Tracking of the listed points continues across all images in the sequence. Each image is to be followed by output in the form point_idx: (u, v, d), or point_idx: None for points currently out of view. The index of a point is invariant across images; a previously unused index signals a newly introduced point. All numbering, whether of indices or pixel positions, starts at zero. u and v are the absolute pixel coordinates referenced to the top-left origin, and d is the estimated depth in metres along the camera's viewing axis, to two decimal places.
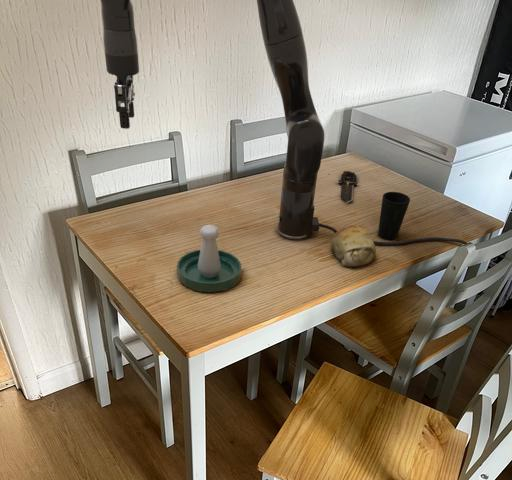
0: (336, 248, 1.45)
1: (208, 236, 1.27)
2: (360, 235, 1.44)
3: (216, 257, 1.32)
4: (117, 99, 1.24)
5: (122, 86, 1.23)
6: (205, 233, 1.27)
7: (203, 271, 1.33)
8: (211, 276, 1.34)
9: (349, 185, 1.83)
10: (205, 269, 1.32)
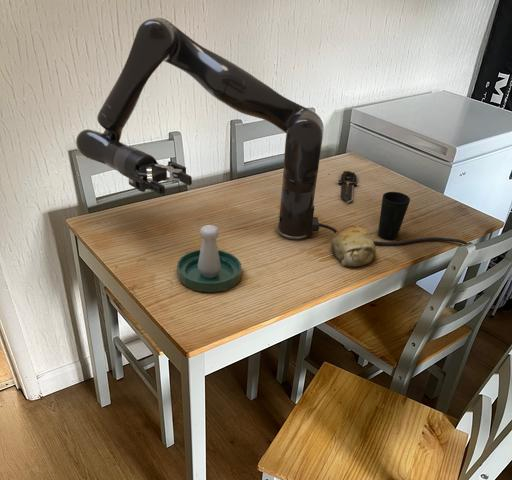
0: (336, 248, 1.45)
1: (208, 236, 1.27)
2: (360, 235, 1.44)
3: (216, 257, 1.32)
4: (135, 186, 1.29)
5: (128, 176, 1.30)
6: (205, 233, 1.27)
7: (203, 271, 1.33)
8: (211, 276, 1.34)
9: (349, 185, 1.83)
10: (205, 269, 1.32)
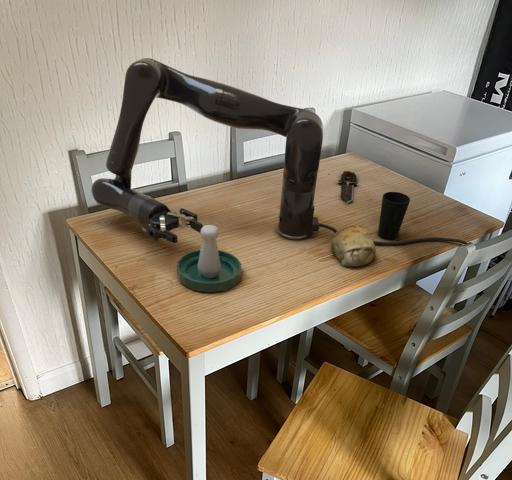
0: (336, 248, 1.45)
1: (208, 236, 1.27)
2: (360, 235, 1.44)
3: (216, 257, 1.32)
4: (148, 235, 1.34)
5: (142, 225, 1.35)
6: (205, 233, 1.27)
7: (203, 271, 1.33)
8: (211, 276, 1.34)
9: (349, 185, 1.83)
10: (205, 269, 1.32)
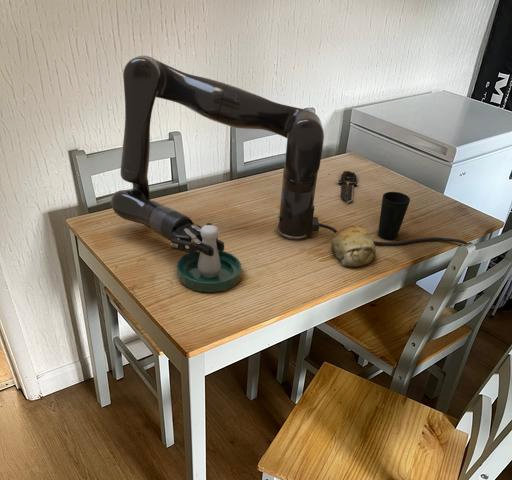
0: (336, 248, 1.45)
1: (208, 236, 1.27)
2: (360, 235, 1.44)
3: (216, 257, 1.32)
4: (181, 249, 1.30)
5: (171, 242, 1.30)
6: (205, 233, 1.27)
7: (203, 271, 1.33)
8: (211, 276, 1.34)
9: (349, 185, 1.83)
10: (205, 269, 1.32)
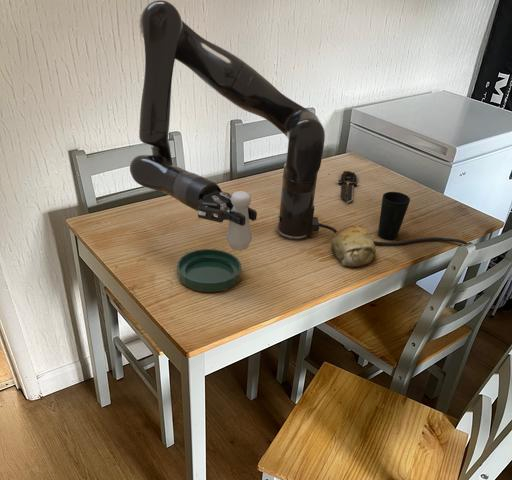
0: (336, 248, 1.45)
1: (240, 202, 1.14)
2: (360, 235, 1.44)
3: (247, 227, 1.19)
4: (209, 218, 1.18)
5: (198, 209, 1.17)
6: (237, 200, 1.14)
7: (233, 243, 1.20)
8: (241, 249, 1.22)
9: (349, 185, 1.83)
10: (235, 240, 1.20)
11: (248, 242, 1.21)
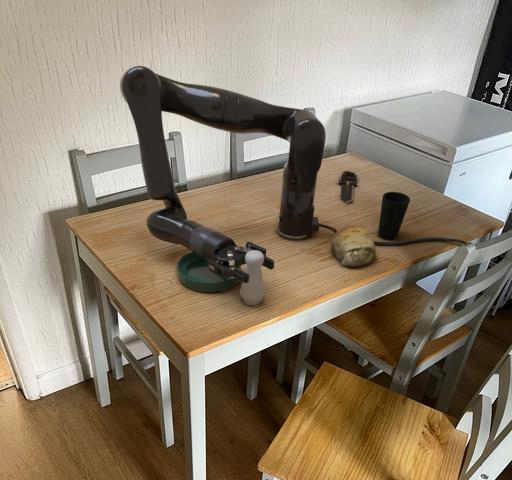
0: (336, 248, 1.45)
1: (254, 262, 1.20)
2: (360, 235, 1.44)
3: (260, 284, 1.24)
4: (216, 273, 1.23)
5: None
6: (251, 260, 1.20)
7: (246, 298, 1.26)
8: (254, 303, 1.27)
9: (349, 185, 1.83)
10: (248, 296, 1.25)
11: (261, 297, 1.26)
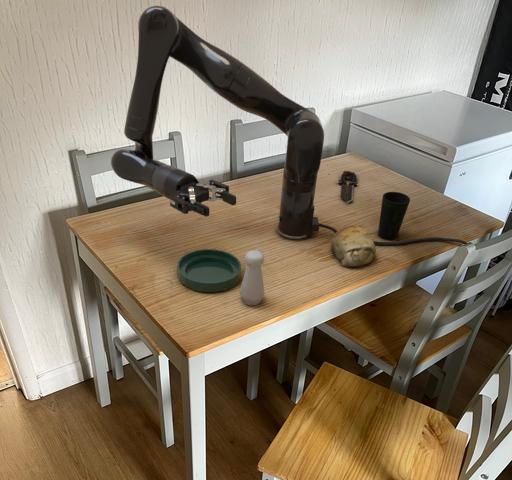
0: (336, 248, 1.45)
1: (254, 262, 1.20)
2: (360, 235, 1.44)
3: (260, 284, 1.24)
4: (177, 208, 1.22)
5: (169, 197, 1.22)
6: (251, 260, 1.20)
7: (246, 298, 1.26)
8: (254, 303, 1.27)
9: (349, 185, 1.83)
10: (248, 296, 1.25)
11: (261, 297, 1.26)
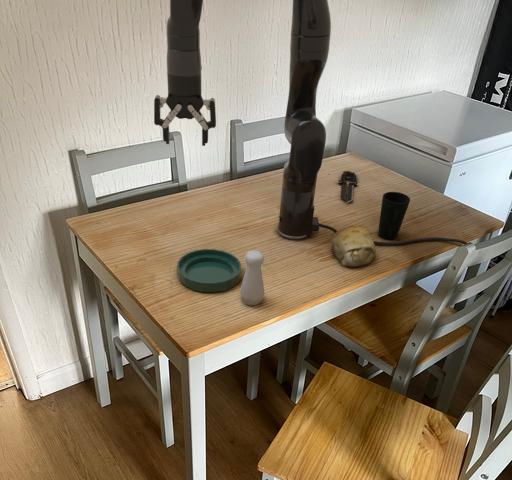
0: (336, 248, 1.45)
1: (254, 262, 1.20)
2: (360, 235, 1.44)
3: (260, 284, 1.24)
4: None
5: (155, 98, 1.21)
6: (251, 260, 1.20)
7: (246, 298, 1.26)
8: (254, 303, 1.27)
9: (349, 185, 1.83)
10: (248, 296, 1.25)
11: (261, 297, 1.26)
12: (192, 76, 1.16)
